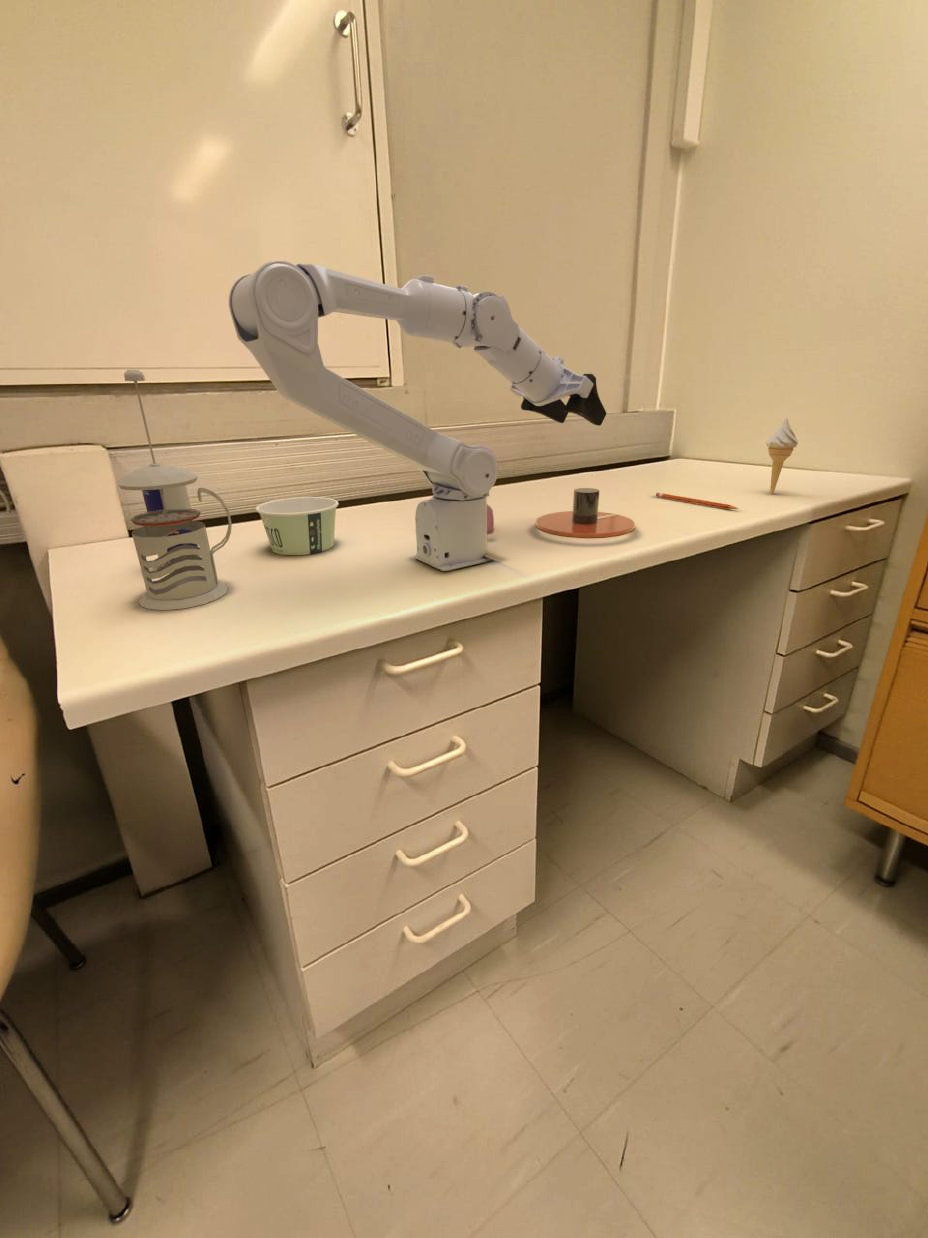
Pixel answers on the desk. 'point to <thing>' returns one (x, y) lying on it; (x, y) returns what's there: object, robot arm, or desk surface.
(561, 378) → the robot arm
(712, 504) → the pencil
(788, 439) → the ice cream cone
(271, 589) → the desk surface
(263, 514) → the food container
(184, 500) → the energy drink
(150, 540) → the french press
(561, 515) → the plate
